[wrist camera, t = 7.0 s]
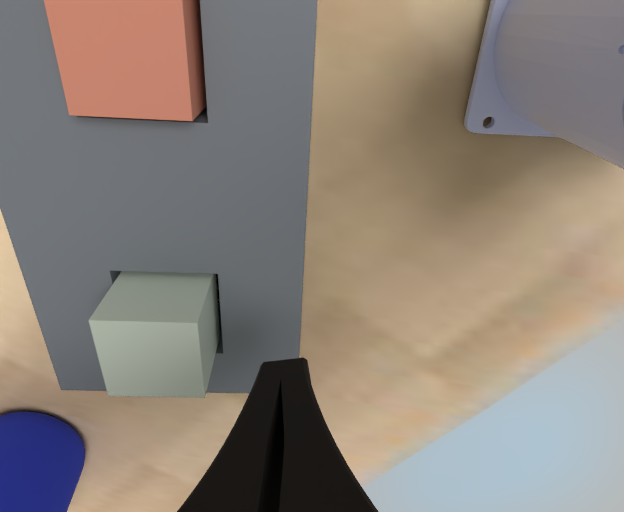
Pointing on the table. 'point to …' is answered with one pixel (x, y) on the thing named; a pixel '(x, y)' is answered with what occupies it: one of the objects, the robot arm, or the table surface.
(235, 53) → the button panel
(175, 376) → the sage button
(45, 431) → the mug
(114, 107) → the terracotta button
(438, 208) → the table surface
